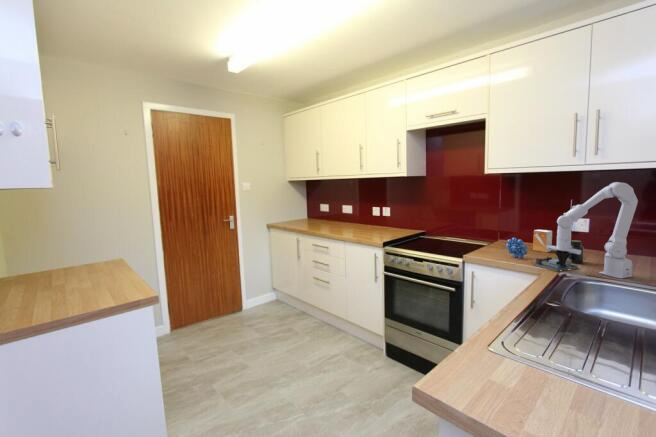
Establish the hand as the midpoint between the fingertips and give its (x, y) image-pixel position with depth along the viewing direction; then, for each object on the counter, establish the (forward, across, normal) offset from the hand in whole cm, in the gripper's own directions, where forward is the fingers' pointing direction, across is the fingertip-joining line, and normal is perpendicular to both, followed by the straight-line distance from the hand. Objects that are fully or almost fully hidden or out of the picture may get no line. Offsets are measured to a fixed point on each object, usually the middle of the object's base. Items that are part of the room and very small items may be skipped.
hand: (562, 265), depth 161 cm
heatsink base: (+2, +5, -3) cm, 7 cm away
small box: (+3, +27, -35) cm, 44 cm away
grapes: (+3, +27, -6) cm, 28 cm away
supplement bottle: (+3, +3, -20) cm, 21 cm away
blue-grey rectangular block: (+1, +5, -1) cm, 5 cm away
